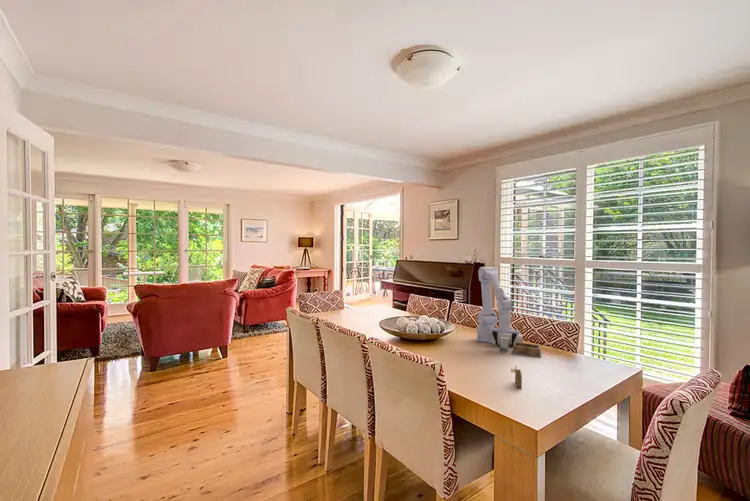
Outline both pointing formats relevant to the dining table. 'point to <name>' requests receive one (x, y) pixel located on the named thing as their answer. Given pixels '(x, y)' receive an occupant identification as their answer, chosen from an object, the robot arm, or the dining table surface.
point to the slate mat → (527, 354)
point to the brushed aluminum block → (504, 344)
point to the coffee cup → (518, 338)
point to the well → (526, 348)
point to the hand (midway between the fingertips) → (504, 346)
